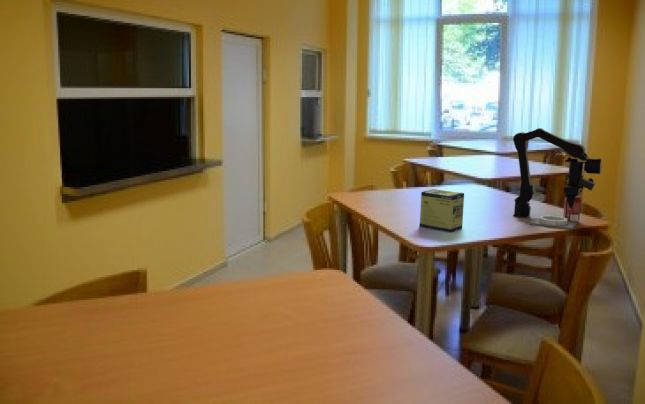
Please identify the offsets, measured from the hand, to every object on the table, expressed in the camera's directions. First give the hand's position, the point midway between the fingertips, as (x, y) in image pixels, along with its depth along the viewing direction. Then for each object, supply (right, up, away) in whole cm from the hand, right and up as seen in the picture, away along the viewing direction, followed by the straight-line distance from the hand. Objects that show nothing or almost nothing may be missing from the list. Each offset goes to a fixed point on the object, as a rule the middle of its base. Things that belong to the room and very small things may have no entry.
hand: (572, 206), depth 267 cm
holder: (-11, -8, -5) cm, 14 cm away
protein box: (-63, -9, -14) cm, 65 cm away
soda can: (0, -7, +1) cm, 7 cm away
